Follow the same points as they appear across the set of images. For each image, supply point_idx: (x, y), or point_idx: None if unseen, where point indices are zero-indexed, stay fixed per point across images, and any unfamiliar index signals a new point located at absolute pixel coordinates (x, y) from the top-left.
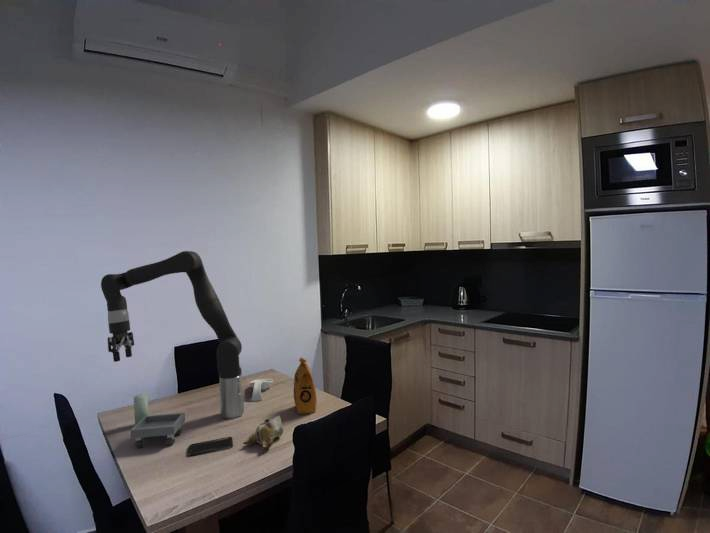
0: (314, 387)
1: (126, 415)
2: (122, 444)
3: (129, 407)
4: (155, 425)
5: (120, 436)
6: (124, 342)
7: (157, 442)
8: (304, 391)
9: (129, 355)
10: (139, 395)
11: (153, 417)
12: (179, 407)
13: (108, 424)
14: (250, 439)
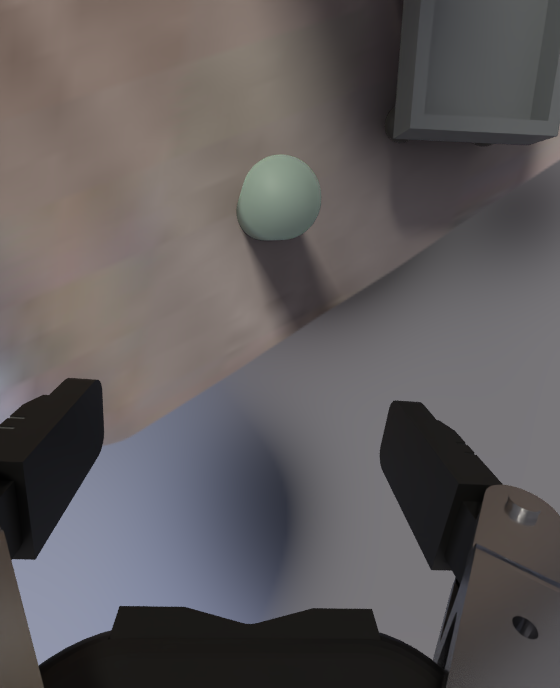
0: None
1: (142, 335)
2: (431, 216)
3: (40, 368)
4: (467, 54)
5: (359, 258)
6: (221, 668)
7: None
8: None
9: (94, 407)
10: (259, 215)
11: (425, 74)
12: (64, 80)
13: (231, 366)
14: None
